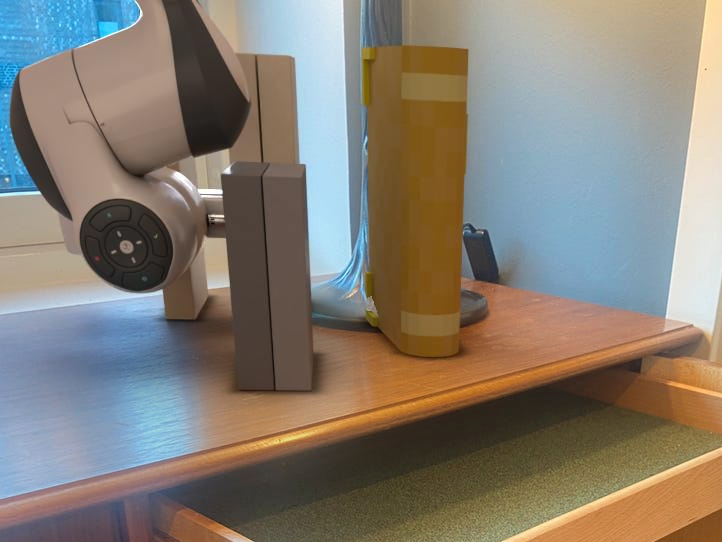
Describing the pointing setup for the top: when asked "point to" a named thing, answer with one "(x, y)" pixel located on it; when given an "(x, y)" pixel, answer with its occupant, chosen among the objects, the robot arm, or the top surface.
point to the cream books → (269, 111)
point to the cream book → (191, 286)
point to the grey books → (269, 274)
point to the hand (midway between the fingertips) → (178, 202)
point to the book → (416, 193)
